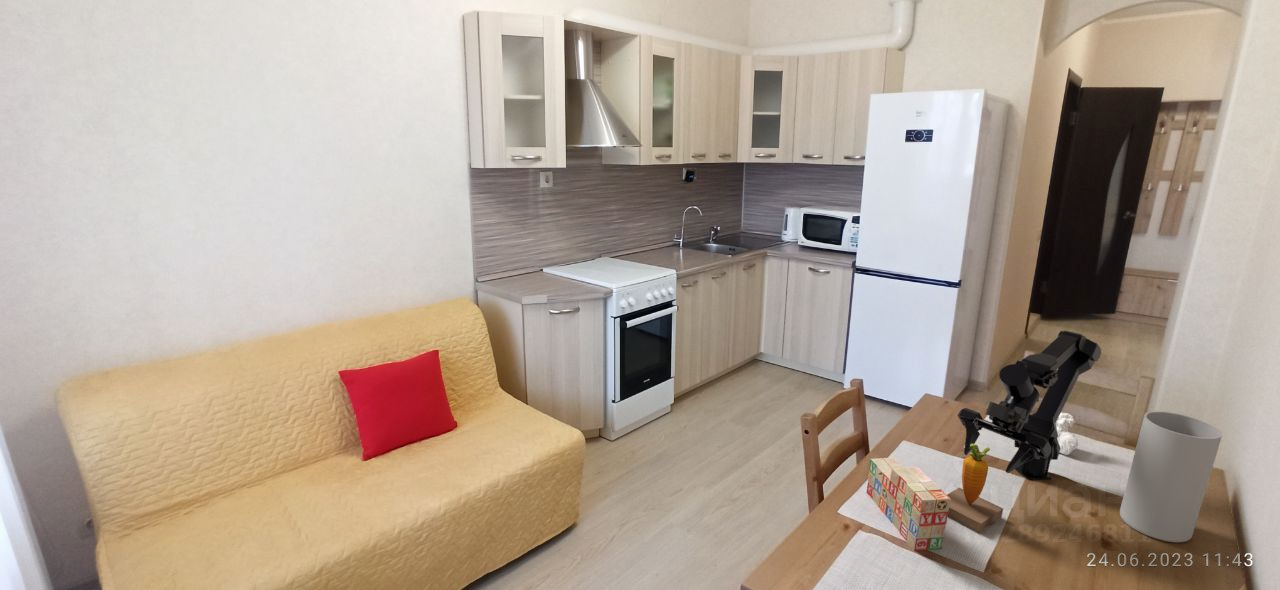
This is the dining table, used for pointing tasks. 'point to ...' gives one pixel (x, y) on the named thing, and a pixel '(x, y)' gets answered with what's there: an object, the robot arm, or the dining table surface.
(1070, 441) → the bust
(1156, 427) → the cylinder vase
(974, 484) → the carrot
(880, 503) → the stack of blocks
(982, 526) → the walnut plinth
